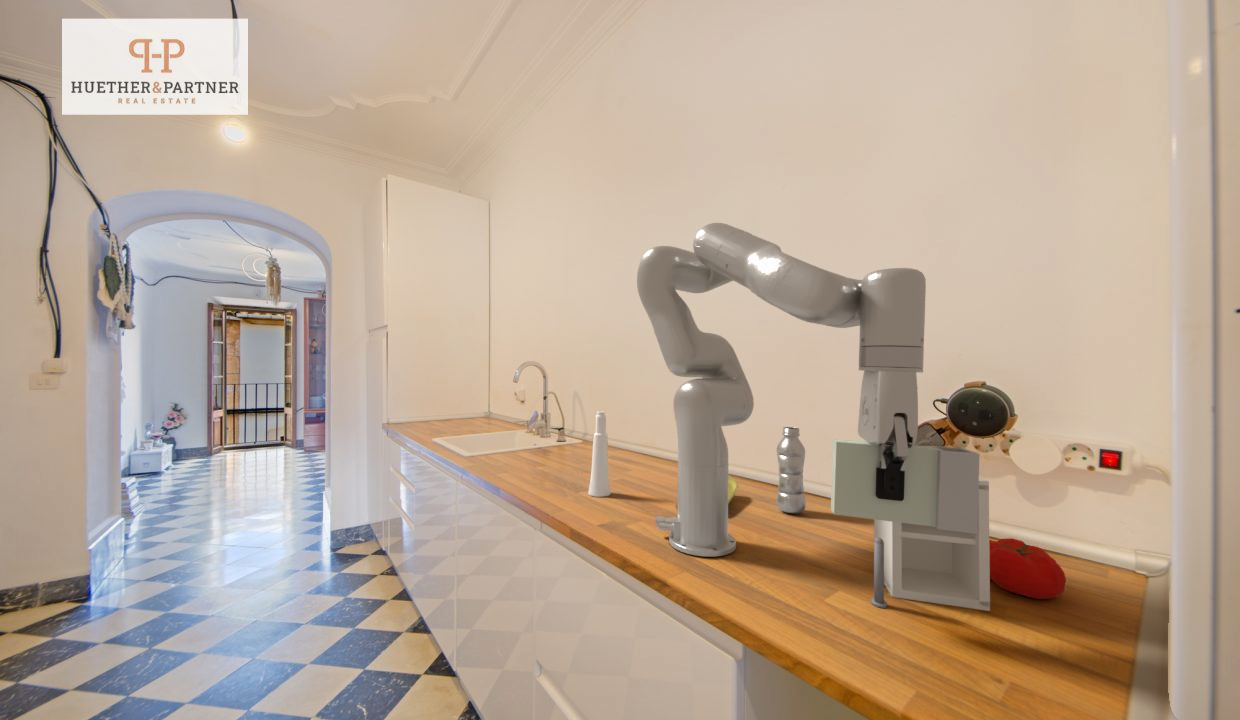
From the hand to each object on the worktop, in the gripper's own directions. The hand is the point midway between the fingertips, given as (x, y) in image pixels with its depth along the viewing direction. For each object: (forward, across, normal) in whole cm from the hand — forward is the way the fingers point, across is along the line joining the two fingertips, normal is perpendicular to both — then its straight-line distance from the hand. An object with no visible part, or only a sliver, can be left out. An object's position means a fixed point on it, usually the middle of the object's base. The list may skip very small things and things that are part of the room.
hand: (885, 494), depth 60 cm
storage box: (+3, 0, +1) cm, 3 cm away
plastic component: (+18, -45, -27) cm, 55 cm away
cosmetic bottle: (+19, -44, -56) cm, 73 cm away
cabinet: (+16, -9, +7) cm, 20 cm away
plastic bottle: (+18, -44, -8) cm, 48 cm away
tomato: (+16, -16, +23) cm, 33 cm away
